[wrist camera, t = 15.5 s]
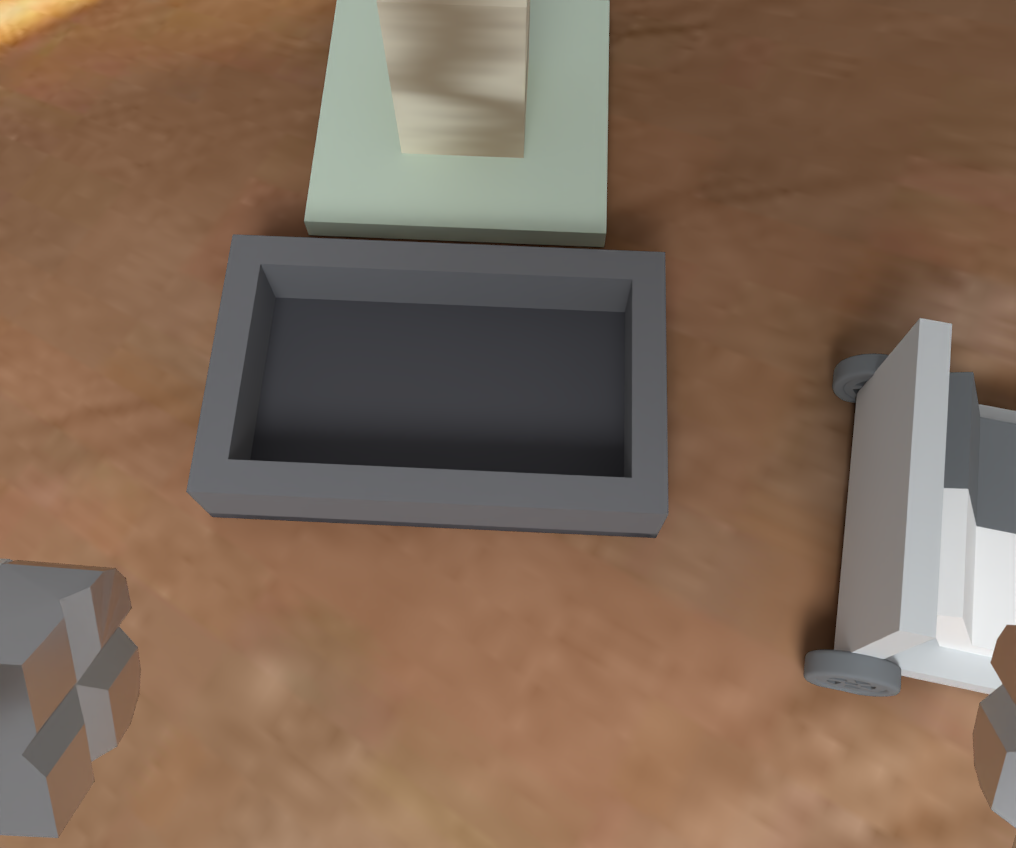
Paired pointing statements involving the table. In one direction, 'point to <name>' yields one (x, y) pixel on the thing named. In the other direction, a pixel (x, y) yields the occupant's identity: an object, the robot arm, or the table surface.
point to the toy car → (922, 525)
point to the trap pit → (437, 387)
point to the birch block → (458, 74)
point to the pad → (467, 179)
